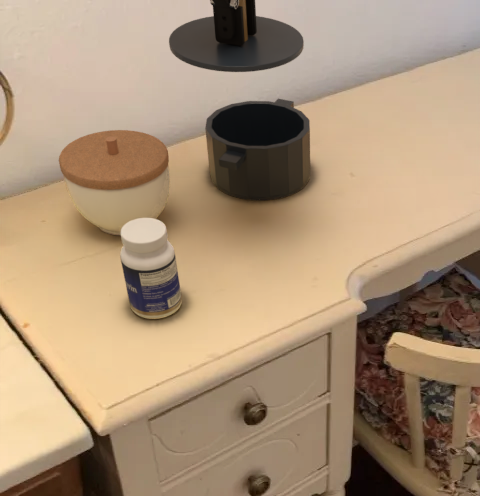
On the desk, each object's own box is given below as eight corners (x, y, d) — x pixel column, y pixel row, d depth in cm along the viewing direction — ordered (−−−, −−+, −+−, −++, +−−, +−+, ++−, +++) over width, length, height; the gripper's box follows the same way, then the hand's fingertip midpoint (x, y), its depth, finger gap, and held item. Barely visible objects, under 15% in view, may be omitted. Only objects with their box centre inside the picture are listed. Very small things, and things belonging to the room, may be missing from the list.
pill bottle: (125, 295, 95) (110, 219, 88) (176, 285, 96) (164, 210, 90) (136, 325, 91) (120, 249, 84) (188, 314, 93) (177, 238, 86)
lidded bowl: (185, 197, 110) (175, 117, 103) (165, 251, 101) (152, 168, 94) (90, 191, 110) (73, 111, 102) (60, 244, 101) (39, 161, 93)
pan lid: (145, 63, 89) (136, 2, 84) (206, 17, 99) (201, -40, 94) (273, 87, 86) (271, 26, 82) (322, 37, 96) (322, -20, 92)
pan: (184, 198, 110) (177, 145, 105) (244, 135, 123) (241, 86, 118) (279, 219, 108) (277, 166, 102) (330, 153, 121) (331, 103, 116)
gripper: (223, -180, 85) (235, 8, 98) (145, -148, 74) (170, 59, 86) (292, -171, 84) (295, 19, 96) (223, -137, 72) (237, 72, 85)
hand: (236, 36), depth 91 cm, fingers closed on pan lid, 2 cm apart
